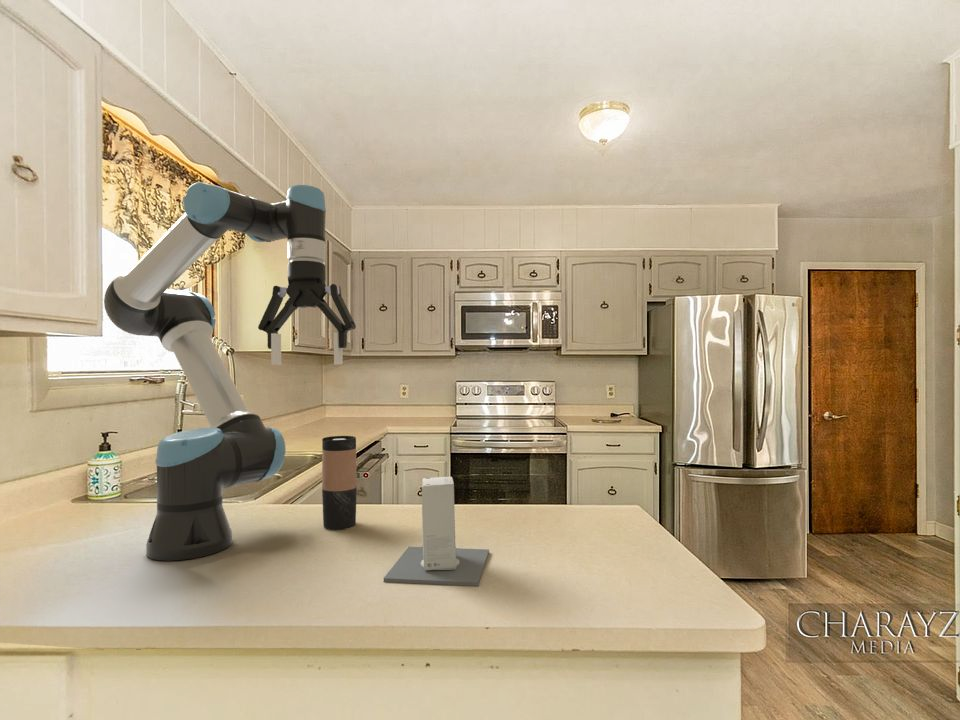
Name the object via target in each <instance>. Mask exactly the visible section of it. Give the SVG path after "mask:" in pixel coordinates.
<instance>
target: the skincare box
mask: <svg viewBox="0 0 960 720" xmlns="http://www.w3.org/2000/svg"><path fill="white" fill-rule="evenodd" d="M421 483H422V485H421V525H422V532H421V533H422V534H421V535H422V547H423V559H424V570H454V569H456V548H457V547H456V520H455V518H456V517H455V482H454V479H453V477H452V476H438V477H436V476H434V477H424V478H422V481H421Z"/></svg>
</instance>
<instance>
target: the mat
mask: <svg viewBox="0 0 960 720" xmlns="http://www.w3.org/2000/svg"><path fill="white" fill-rule="evenodd" d="M489 554H490V549H487V548H486V549H483V548H457V547H456V569H454V570H424V559H423V546H408V547H406V549H405V551H404V552H403V553H402V554H401V555H400V557H399V558H398V560H397V561H395V562H394V564H393V566H392V567H391V569H389V570H388V572H387V573H386V574H385V576H383V583H402V584H403V583H404V584H425V585H443V586H444V585H445V586H448V585H449V586H462V587H463V586H467V587H469V586H470V587H479V583H480V580H481V579H482V575H483V572H484V569H485V566H486V563H487V560H488V558H489Z"/></svg>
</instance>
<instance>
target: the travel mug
mask: <svg viewBox="0 0 960 720" xmlns="http://www.w3.org/2000/svg"><path fill="white" fill-rule="evenodd" d="M321 441H322V445H321V446H322V449H321V451H322V452H321V453H322V455H321V456H322V457H321V460H322V461H321V462H322V463H321V466H322V467H321V493H322V494H321V496H322V517H323V518H322V521H323V523H322V524H323V528H324V529H325V530H328V531H341V530H349V529H351V528H354V527H355V526H356V524H357V523H356V522H357V519H356V518H357V495H358V494H357V491H358V490H357V487H358V485H357V483H358V482H357V475H358V474H357V437H356V436H353V435H332V436H331V435H330V436H327V437H322V439H321Z"/></svg>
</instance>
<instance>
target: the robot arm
mask: <svg viewBox="0 0 960 720" xmlns="http://www.w3.org/2000/svg"><path fill="white" fill-rule="evenodd" d="M182 204H183V205H182V206H183V210H184V214H183V215H182V216H180V218H179V219H178V220H177V221H176V222H175V223H174V224H173V225H172V226H171V227H170V228H169V229H168V230H167V231H166V232H165V233H164V234H163V235H162V237H160V238H159V240H158V241H157V242H156V243H155V244H154V245H153V246H152V247H151V248H150V249H149V250H147V252H146V253H145V254H144V255H143V256H142V257H141V258H140V259H139V260H138V261H137V263H136V264H135V265H133V267H131V269H130V270H129V271H124V272H120V273H119V274H118V275H116V277H115V278H114V279H113V280H111V282H110V283H109V285H108V287H107V288H106V289H105V293H104V299H103V302H104V304H103V306H104V310H105V312H106V315H107V317H108V318H109V320H110V321H111V322H112V323H113V325H115V326H116V327H117V328H118V329H120V330H122V331H123V332H125V333H127V334H130V335H134V336H146V337H147V336H148V337H158V339H159V341H160V343H161V345H162V347H163V348H164V349H165V350H166V351H167V352H171V353H173V354H174V356H175V357H176V359H177V361H178V364H179V366H180V368H181V369H182V371H183V374H184V375H185V377H186V380H187V382H188V383H189V386H190V388H191V391H192V392H193V394H194V396H195V398H196V401H197V402H198V404H199V406H200V409H201V411H202V412H203V414H204V416H205V419H206V420H207V423H208V424H209V425H208V426H210V427H203V428H202V427H200V428H195V429H187V430H182V431H178V432H175V433H172V434H169V435H166V436H165V437H163V438H162V439H161V440H160V441H159V442H158V444H157V449H156V450H157V451H156V459H155V465H156V514H155V515H156V516H155V517H154V521H153V523H152V526H151V529H150V532H149V537H148V539H147V541H146V551H145V553H146V556H147V558H148V559H151V560H157V561H163V562H164V561H166V562H167V561H185V560H191V559H197V558H201V557H205V556H209V555H213V554H215V553H216V554H217V553H218V552H221V551H223V550H225V549H227V548H229V547H230V546H231V545H232V543H233V532H232V528H231V527H230V523H229V520H228V517H227V514H226V512H225V509H224V505H223V492H224V491H223V489H227V488H231V487H236V486H241V485H245V484H251V483H254V482H257V483H258V482H261V481H263V480H265V479H269V478H271V477H273V476H275V475H276V474H277V473H278V472H279V471H280V470H281V468H282V467H283V464H284V461H285V455H286V450H287V449H286V441H285V438H284V436H283V434H282V433H281V432H280V430H279V429H277V428H275V427H272V426H270V425H269V426H265V424H264V422H263V421H262V419H261V417H260V415H259V414H258V413H255V412H250V411H249V409H248V407H247V406H246V403H245V401H244V400H243V398H242V396H241V394H240V392H239V390H238V388H237V385H236V384H235V383H234V380H233V378H232V377H231V374H230V373H229V371H228V369H227V367H226V365H225V364H224V361H223V359H222V358H221V355H220V354H219V351H218V350H217V348H216V346H215V344H214V342H213V340H212V339H211V338H212V336H213V332H214V329H215V327H216V326H215V325H216V318H214V317H215V316H216V312H215V309H214V306H213V304H212V302H211V301H210V300H209V299H208V298H207V297H206V296H204V295H203V294H201V293H196V292H192V291H190V290H184V289H183V290H178V289H177V290H176V289H168V288H170V287H171V286H172V285H173V284H174V283H176V281H177V280H178V279H179V278H180V277H181V276H182V275H183V274H184V273H185V272H186V271H187V270H189V268H190V267H192V265H193V264H194V263H195V262H197V260H198V259H199V258H200V257H202V256H203V255H204V253H205V252H207V251H208V250H209V249H210V247H212V246H213V245H214V244H215V243H216V242H217V241H218V240H219V239H220V238H221V237H222V236H223V235H225V233H227V232H228V231H233V232H237V233H241V234H246V235H247V236H248V237H249V238H250V239H251V240H252V241H254V242H257V243H272V242H275V241H280V240H284V239H285V240H287V260H288V261H289V262H288V263H287V281H288V284H287V286H286V287H285V286H284V287H282V286H278V285H274V286H273V287H272V296H271V298H270V301H269V302H268V304H267V307H266V308H265V311H264V313H263V315H262V317H261V320H260V321H259V323H258V326H257V328H258V330H259V331H263V332H265V333H267V334H266V335H267V349H269V350H270V354H271V355H270V357H271V358H270V360H271V361H270V365H271V366H282V333H279V331H280V329H281V328H283V326H284V324H285V323H286V322H287V321H288V320H289V318H290V317H291V315H293V313H294V311H296V310H298V309H299V308H301V309H304V308H305V309H306V308H312V309H313V308H318V309H319V310H320V311H321V312H322V313H323V314H324V316H325V317H326V319H328V320H329V322H330V323H331V324H332V326H333V327H334V328H335V329H336V332H333V364H334V365H343V364H344V362H343V360H344V357H343V356H344V355H343V353H344V351H343V350H344V349H347V347H348V346H347V345H348V344H347V340H348V337H347V336H348V334H347V333H349V332H350V331H351V330H355V329H356V328H357V327H356V326H357V325H356V323H355V321H354V319H353V317H352V315H351V313H350V311H349V309H348V306H347V305H346V303H345V301H344V298H343V297H342V291H341V289H342V288H341V286H340V285H337V284H334V283H331V284H330V285H326V279H327V278H326V275H327V273H326V265H325V264H324V263H325V262H326V257H327V256H326V214H327V213H326V212H327V210H326V200H325V192H323V190H321V189H320V188H318V187H316V186H314V185H308V184H295V185H291V186H290V187H289V188H288V189H287V195H286V200H283V201H281V202H280V201H279V202H275V203H273V202H272V203H270V202H268V201H264V200H261V199H259V198H258V199H257V198H256V197H253V196H248V195H245V194H241V193H238V192H236V191H232V190H229V189H227V188H224V187H222V186H220V185H216V184H212V183H211V184H210V183H206V182H202V181H198V182H195V183H192V184H191V185H190V186H189V187H188V188H187V190H186V194H185V195H184V196H183V203H182ZM327 294H328V296H331V299H332V301H333V303H334V305H335V307H336V309H337V311H338V314H339V315H340V317H341V319H340V318H339V317H338V315H337V314H336V313H335V312H334V310H333V309H332V308H331V307H330V306H329V303H328V302H327V301H326V300H325V296H326V295H327ZM286 295H288V297H289V298H288V299H287V300H286V302H285V303H284V306H283V307H282V308H281V305H282V302H283V300H284V298H285V297H286ZM280 308H281V309H280ZM279 309H280V311H279Z"/></svg>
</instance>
